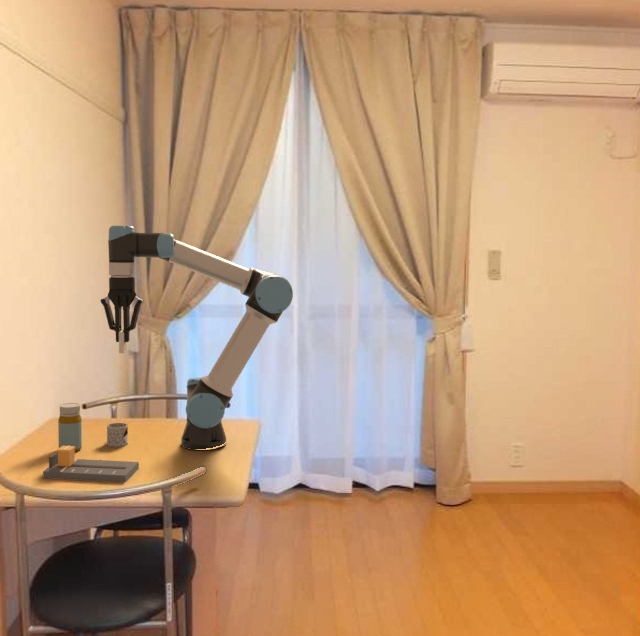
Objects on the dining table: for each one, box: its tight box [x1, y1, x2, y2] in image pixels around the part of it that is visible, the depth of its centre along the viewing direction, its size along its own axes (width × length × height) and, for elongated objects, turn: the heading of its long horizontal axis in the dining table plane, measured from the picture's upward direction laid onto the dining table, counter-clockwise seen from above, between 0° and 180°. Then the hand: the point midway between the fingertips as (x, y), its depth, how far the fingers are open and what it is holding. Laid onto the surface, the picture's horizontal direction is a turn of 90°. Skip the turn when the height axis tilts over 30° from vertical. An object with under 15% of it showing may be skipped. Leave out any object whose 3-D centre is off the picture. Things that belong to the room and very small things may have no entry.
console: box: [42, 452, 140, 483], centre depth 199 cm, size 24×12×5 cm, turn 87°
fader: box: [56, 446, 76, 467], centre depth 199 cm, size 4×4×5 cm
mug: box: [106, 422, 129, 448], centre depth 229 cm, size 10×7×7 cm, turn 20°
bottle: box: [57, 402, 83, 453], centre depth 219 cm, size 7×7×15 cm
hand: (122, 352), depth 210 cm, fingers closed
